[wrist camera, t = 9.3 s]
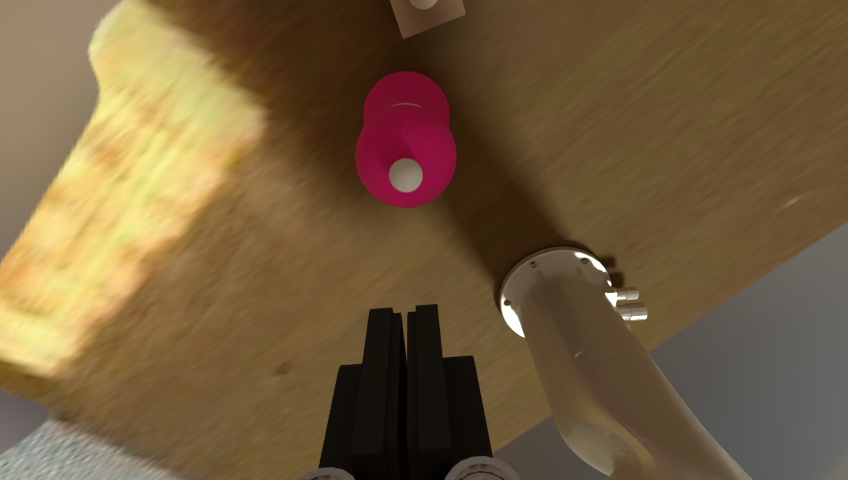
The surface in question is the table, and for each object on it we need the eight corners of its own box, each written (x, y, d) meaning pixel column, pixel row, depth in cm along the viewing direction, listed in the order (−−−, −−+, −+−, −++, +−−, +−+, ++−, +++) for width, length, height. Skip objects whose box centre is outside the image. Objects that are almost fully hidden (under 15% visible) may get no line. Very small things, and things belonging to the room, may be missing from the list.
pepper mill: (394, 48, 37) (381, 76, 19) (461, 96, 39) (505, 160, 21) (353, 119, 40) (309, 200, 22) (418, 160, 42) (425, 265, 24)
